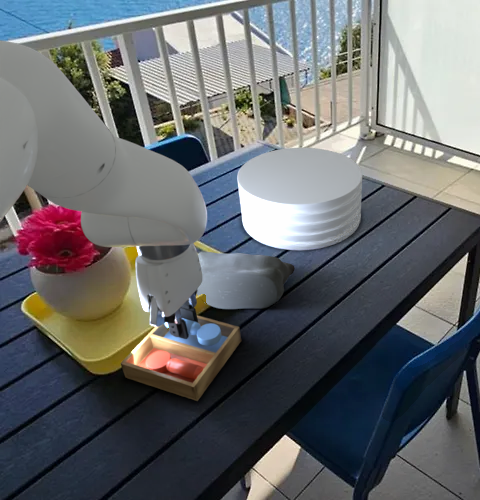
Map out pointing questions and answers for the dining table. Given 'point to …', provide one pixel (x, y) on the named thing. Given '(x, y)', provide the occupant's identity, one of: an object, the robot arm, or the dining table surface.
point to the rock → (242, 279)
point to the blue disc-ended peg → (203, 332)
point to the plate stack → (300, 198)
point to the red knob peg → (172, 365)
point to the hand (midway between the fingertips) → (184, 329)
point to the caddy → (182, 358)
